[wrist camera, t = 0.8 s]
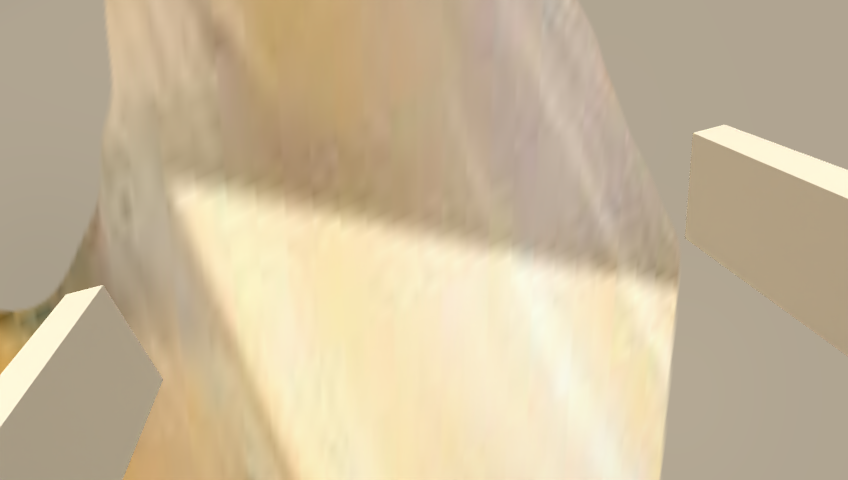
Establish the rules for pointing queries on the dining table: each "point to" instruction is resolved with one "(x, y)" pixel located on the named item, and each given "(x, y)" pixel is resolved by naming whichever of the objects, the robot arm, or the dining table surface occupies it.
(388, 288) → the dining table surface
